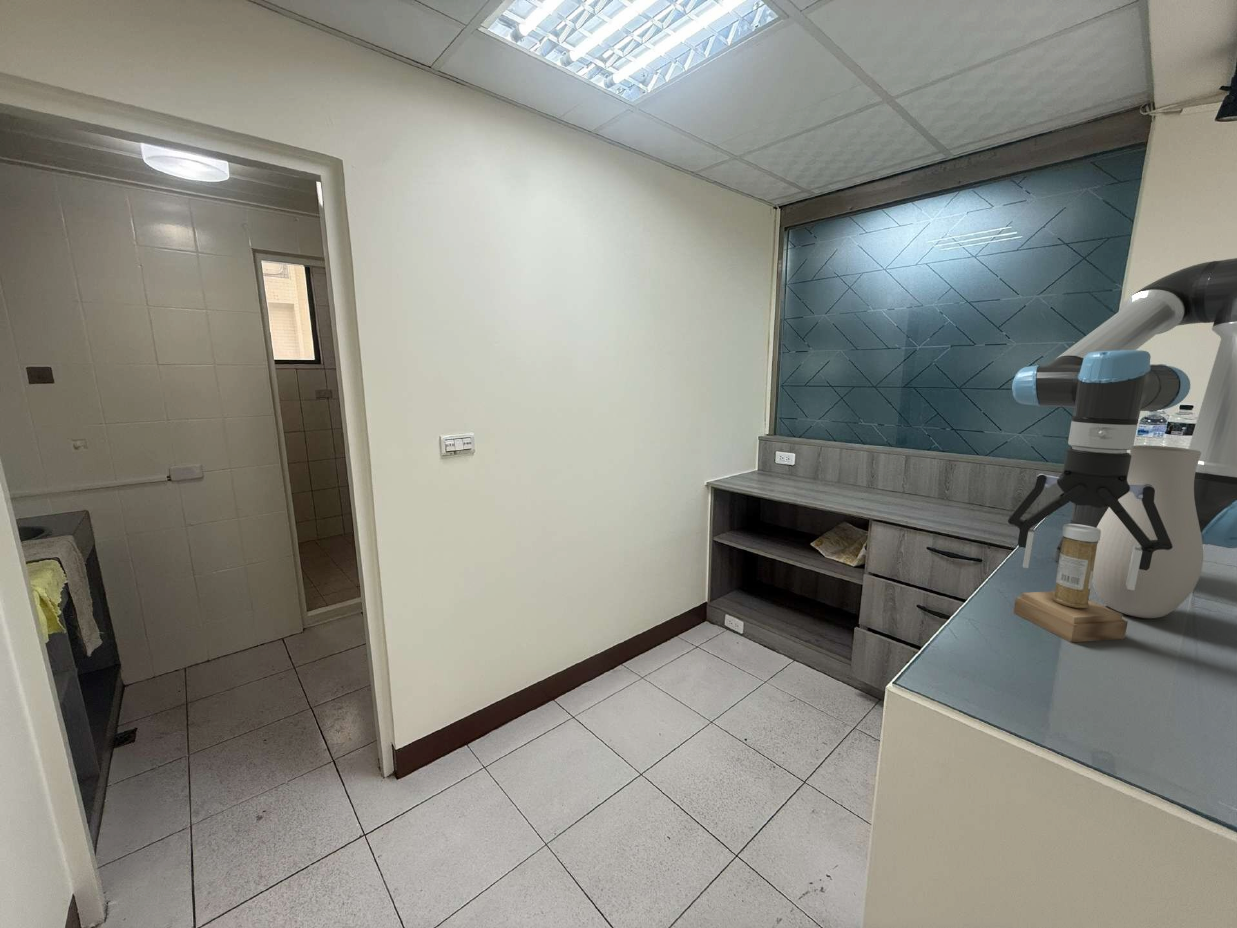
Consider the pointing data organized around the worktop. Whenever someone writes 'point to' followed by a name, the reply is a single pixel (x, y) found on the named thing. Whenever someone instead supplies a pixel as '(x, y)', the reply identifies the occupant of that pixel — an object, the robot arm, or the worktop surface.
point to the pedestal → (1071, 618)
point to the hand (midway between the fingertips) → (1075, 575)
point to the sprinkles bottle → (1076, 565)
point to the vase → (1153, 536)
